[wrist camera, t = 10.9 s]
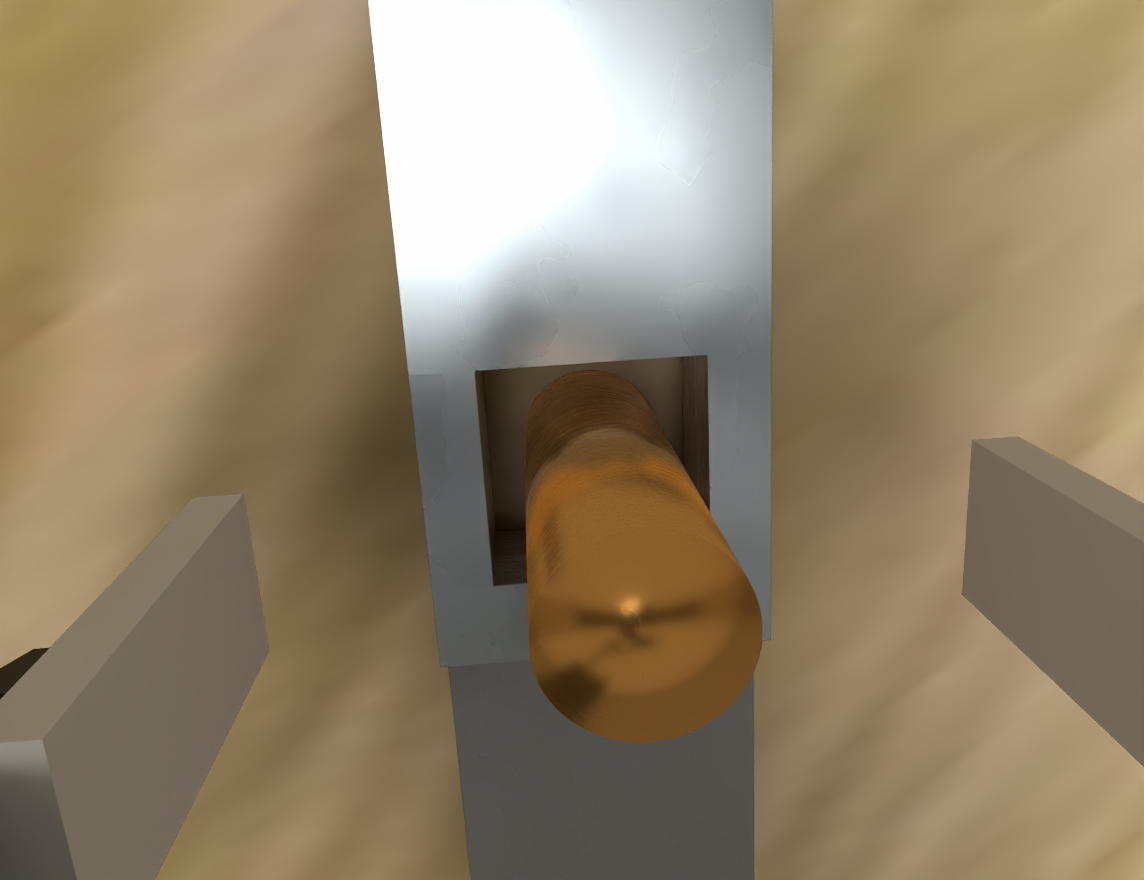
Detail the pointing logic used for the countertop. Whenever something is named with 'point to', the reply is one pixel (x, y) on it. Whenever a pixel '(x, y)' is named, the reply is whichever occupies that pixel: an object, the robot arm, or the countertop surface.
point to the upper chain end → (577, 247)
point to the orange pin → (627, 570)
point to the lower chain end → (597, 772)
